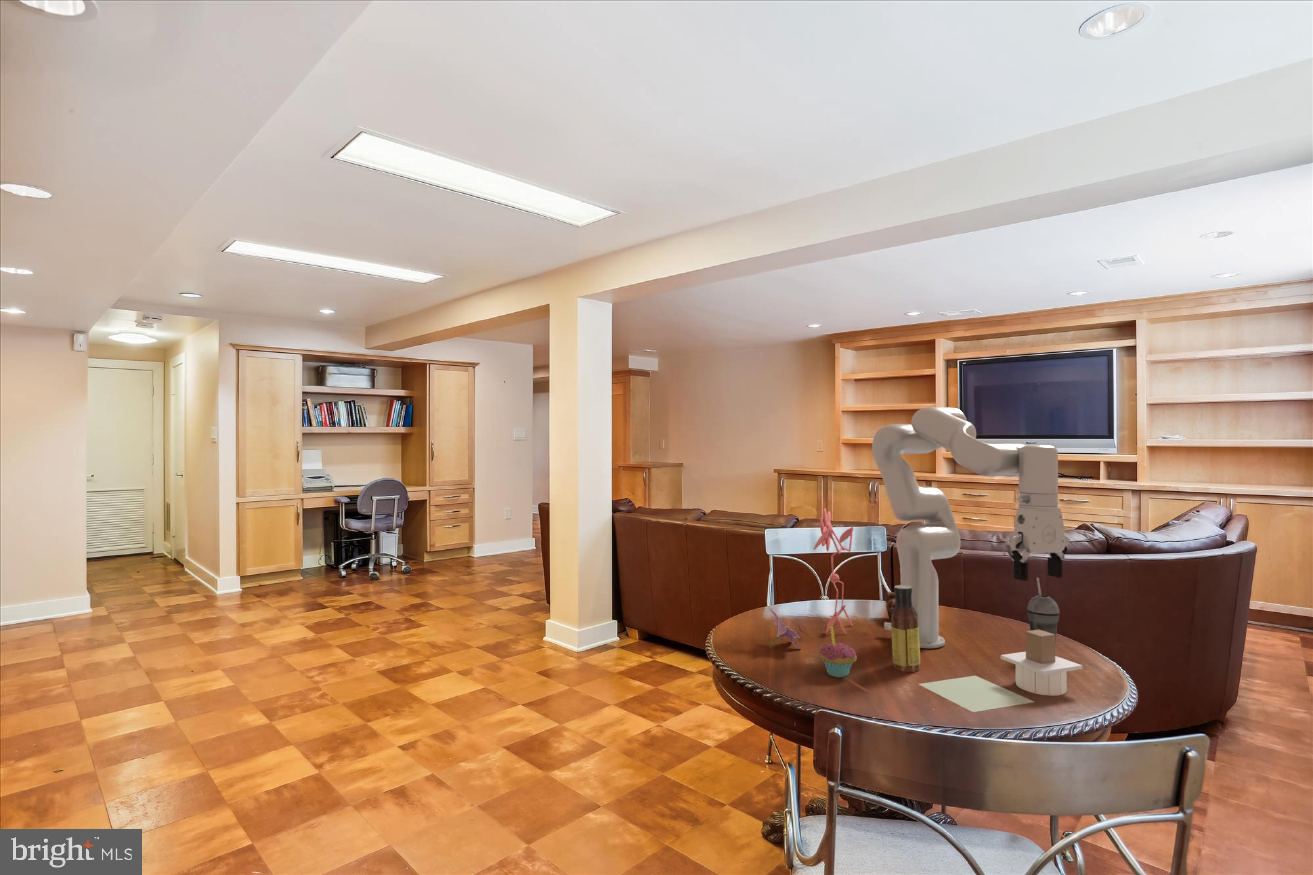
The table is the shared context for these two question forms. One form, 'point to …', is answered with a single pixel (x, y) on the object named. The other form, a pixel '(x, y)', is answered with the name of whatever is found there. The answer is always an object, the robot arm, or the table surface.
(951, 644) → the table surface
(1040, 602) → the beverage cup
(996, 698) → the mat
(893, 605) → the decorative turtle
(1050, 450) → the robot arm
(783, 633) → the lily
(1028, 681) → the bowl
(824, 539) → the figurine
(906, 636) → the sauce bottle
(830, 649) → the cupcake
